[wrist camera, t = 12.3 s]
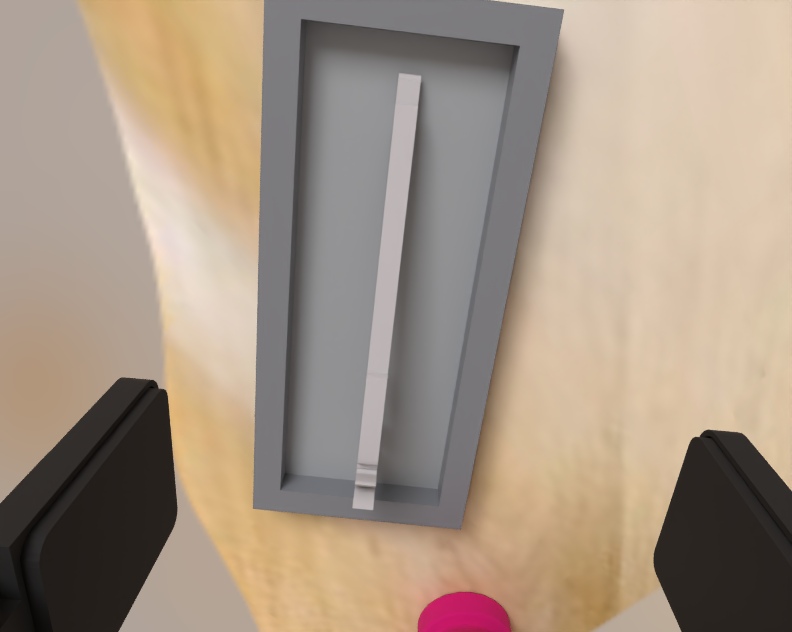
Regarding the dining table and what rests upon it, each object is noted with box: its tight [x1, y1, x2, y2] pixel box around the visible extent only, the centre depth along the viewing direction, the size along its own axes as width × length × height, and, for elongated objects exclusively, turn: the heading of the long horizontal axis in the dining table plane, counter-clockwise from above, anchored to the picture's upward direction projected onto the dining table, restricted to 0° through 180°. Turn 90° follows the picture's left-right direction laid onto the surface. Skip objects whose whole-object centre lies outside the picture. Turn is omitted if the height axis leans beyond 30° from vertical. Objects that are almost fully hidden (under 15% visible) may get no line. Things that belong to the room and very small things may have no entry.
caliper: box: [352, 73, 421, 510], centre depth 28 cm, size 20×1×6 cm, turn 174°
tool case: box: [253, 0, 564, 529], centre depth 31 cm, size 12×27×2 cm, turn 174°
